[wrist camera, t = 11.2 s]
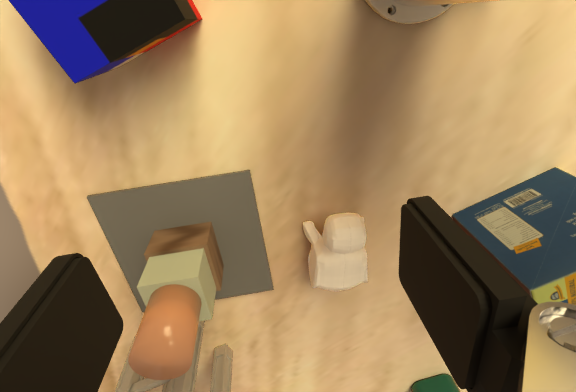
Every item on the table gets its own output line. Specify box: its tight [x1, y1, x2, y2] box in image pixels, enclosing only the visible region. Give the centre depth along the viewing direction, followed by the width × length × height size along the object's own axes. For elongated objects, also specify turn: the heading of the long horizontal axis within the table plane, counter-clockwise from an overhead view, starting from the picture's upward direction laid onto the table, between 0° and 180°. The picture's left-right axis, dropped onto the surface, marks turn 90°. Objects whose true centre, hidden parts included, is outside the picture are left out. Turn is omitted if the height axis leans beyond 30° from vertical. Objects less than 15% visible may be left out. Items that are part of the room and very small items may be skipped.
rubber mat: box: [87, 170, 273, 312], centre depth 45 cm, size 20×20×1 cm
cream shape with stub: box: [303, 213, 368, 291], centre depth 44 cm, size 8×8×15 cm
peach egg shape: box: [128, 284, 202, 380], centre depth 33 cm, size 6×6×7 cm
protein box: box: [452, 167, 576, 305], centre depth 42 cm, size 10×15×16 cm
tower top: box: [137, 248, 216, 321], centre depth 39 cm, size 6×6×5 cm
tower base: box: [144, 222, 224, 291], centre depth 43 cm, size 8×8×5 cm
